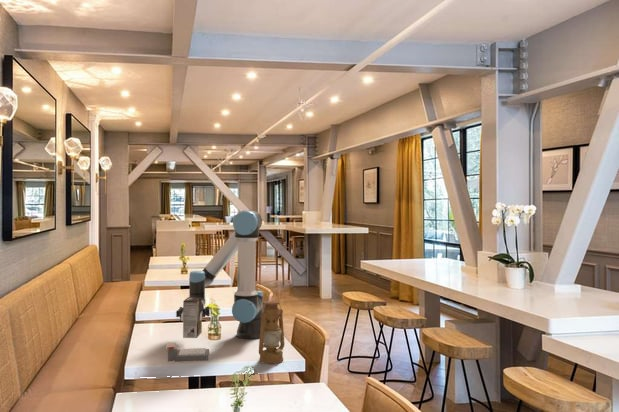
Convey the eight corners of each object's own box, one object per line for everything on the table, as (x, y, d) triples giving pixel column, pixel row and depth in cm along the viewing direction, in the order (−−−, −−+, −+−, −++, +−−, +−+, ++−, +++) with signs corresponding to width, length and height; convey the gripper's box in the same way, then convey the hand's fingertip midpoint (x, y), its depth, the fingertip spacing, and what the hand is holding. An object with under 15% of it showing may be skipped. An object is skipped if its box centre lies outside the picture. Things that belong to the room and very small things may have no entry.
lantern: (274, 367, 209) (274, 295, 209) (252, 364, 213) (252, 293, 213) (289, 357, 223) (289, 289, 223) (268, 354, 227) (268, 287, 227)
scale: (209, 353, 228) (209, 336, 228) (208, 360, 218) (208, 342, 218) (168, 355, 225) (168, 338, 225) (165, 362, 216) (165, 344, 215)
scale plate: (205, 349, 227) (205, 347, 227) (204, 355, 218) (204, 353, 218) (180, 350, 226) (180, 348, 226) (178, 356, 217) (178, 354, 217)
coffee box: (187, 332, 227) (188, 296, 227) (202, 332, 227) (202, 297, 227) (182, 338, 218) (182, 300, 218) (197, 338, 218) (197, 300, 217)
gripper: (216, 314, 241) (215, 325, 219) (173, 315, 238) (167, 326, 216) (217, 298, 241) (215, 308, 219) (173, 299, 238) (167, 309, 216)
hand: (191, 317), depth 217 cm, fingers closed on coffee box, 7 cm apart
